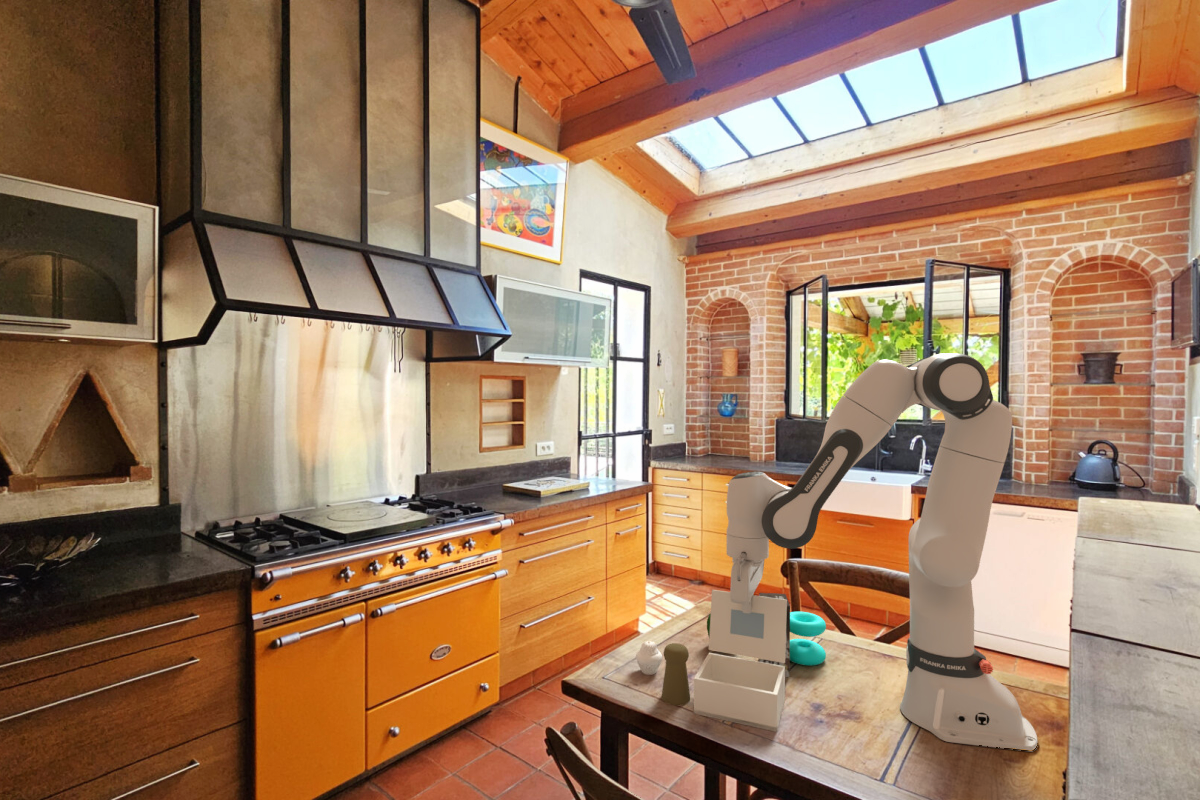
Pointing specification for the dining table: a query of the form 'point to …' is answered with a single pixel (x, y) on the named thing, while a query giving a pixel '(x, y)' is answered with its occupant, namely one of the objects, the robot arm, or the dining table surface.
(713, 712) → the base
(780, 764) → the dining table surface
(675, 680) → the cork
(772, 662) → the coffee box
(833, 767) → the dining table surface
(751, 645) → the mailer lid
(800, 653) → the donuts
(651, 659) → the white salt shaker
